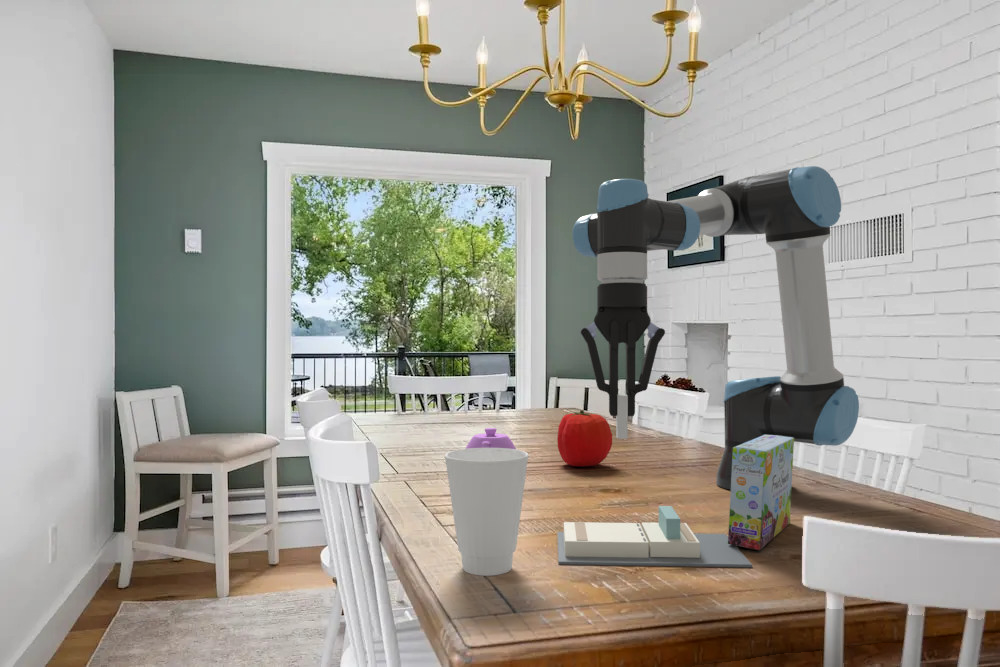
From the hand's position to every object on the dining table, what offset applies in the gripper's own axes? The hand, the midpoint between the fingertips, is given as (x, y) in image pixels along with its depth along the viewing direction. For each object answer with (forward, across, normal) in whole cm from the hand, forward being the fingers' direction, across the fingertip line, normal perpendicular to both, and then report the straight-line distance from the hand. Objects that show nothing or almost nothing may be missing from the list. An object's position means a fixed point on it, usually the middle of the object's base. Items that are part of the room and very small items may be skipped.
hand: (621, 437), depth 114 cm
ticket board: (+17, -3, 0) cm, 17 cm away
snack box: (+17, -23, -9) cm, 30 cm away
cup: (+17, +20, +10) cm, 28 cm away
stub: (+16, -7, 0) cm, 18 cm away
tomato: (+17, +3, -70) cm, 72 cm away
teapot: (+17, +25, -61) cm, 68 cm away
